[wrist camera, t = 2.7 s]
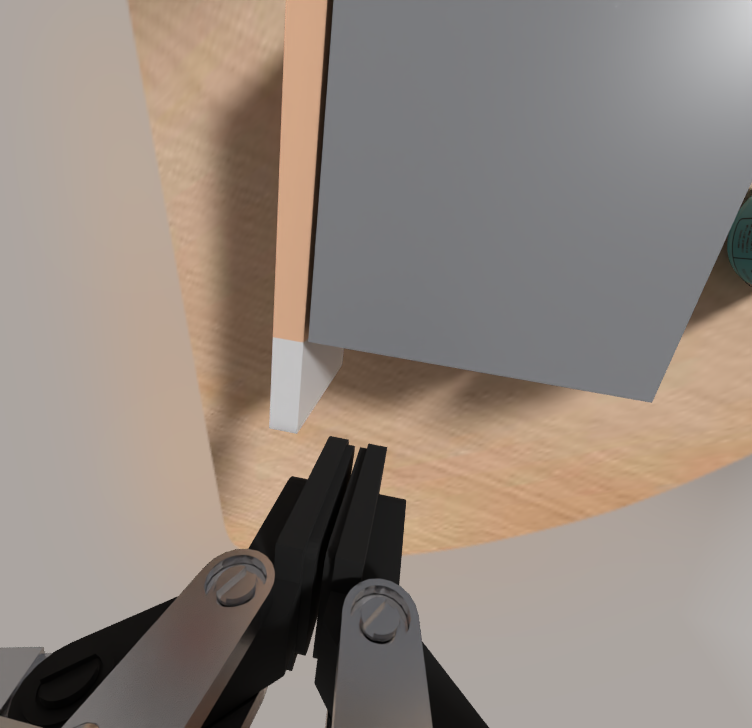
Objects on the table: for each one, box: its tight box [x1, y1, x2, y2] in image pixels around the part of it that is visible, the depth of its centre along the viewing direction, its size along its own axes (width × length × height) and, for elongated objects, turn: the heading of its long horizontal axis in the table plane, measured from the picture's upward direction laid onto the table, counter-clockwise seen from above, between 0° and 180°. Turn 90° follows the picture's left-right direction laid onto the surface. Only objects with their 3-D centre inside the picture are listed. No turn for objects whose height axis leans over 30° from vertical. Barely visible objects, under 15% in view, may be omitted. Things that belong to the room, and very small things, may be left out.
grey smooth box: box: [308, 0, 752, 403], centre depth 16 cm, size 16×12×12 cm
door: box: [269, 0, 344, 434], centre depth 17 cm, size 21×1×11 cm, turn 172°
